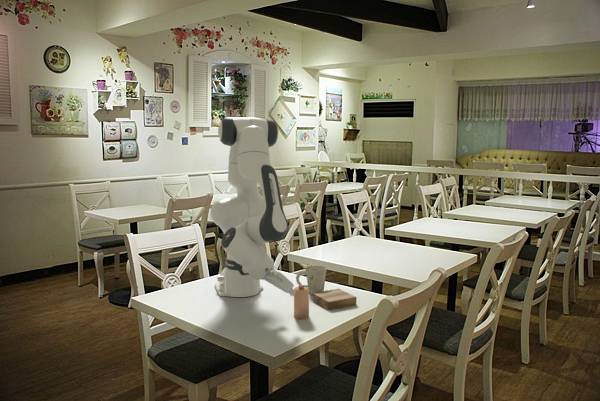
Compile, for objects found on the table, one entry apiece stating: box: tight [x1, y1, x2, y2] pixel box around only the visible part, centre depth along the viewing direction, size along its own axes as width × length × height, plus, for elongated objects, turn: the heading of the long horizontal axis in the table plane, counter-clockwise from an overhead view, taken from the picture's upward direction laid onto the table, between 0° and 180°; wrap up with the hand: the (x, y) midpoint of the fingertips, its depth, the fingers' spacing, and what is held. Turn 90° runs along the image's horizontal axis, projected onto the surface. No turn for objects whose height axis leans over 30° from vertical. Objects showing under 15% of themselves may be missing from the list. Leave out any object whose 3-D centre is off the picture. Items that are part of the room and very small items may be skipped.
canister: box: [293, 284, 310, 320], centre depth 175 cm, size 5×5×11 cm
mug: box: [295, 265, 327, 295], centre depth 203 cm, size 8×13×10 cm, turn 78°
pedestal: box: [312, 288, 357, 311], centre depth 190 cm, size 12×12×3 cm
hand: (287, 290), depth 171 cm, fingers open, 8 cm apart
